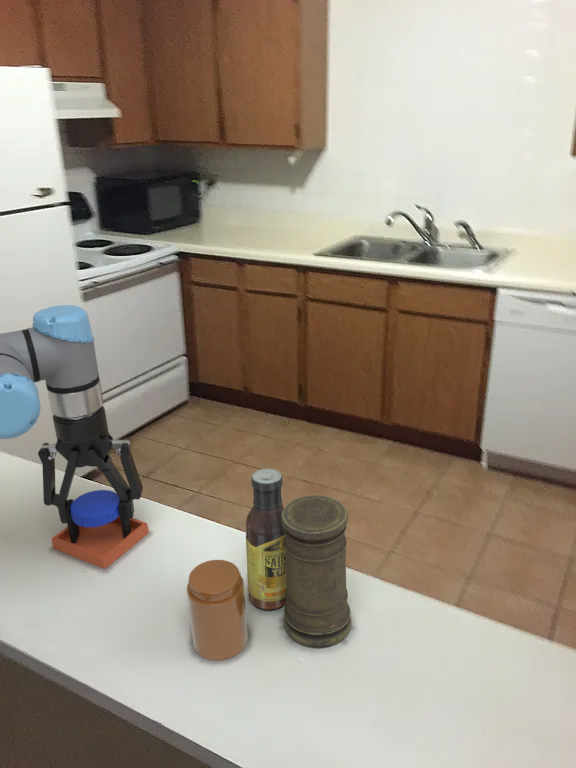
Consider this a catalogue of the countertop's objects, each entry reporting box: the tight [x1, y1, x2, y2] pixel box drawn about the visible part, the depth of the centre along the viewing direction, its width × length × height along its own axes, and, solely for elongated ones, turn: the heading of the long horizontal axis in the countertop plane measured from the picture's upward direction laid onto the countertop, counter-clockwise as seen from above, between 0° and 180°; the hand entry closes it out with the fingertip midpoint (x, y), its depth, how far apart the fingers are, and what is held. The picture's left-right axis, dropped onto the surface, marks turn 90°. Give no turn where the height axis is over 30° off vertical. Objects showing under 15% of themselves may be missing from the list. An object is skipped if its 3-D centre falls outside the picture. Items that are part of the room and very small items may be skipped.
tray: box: [51, 515, 149, 570], centre depth 108 cm, size 11×10×2 cm
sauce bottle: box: [245, 468, 287, 611], centre depth 91 cm, size 7×6×20 cm
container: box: [281, 494, 352, 649], centre depth 87 cm, size 9×9×18 cm
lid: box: [70, 489, 120, 527], centre depth 106 cm, size 8×8×2 cm
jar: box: [186, 559, 249, 662], centre depth 86 cm, size 7×7×10 cm
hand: (101, 535), depth 108 cm, fingers closed on lid, 8 cm apart
